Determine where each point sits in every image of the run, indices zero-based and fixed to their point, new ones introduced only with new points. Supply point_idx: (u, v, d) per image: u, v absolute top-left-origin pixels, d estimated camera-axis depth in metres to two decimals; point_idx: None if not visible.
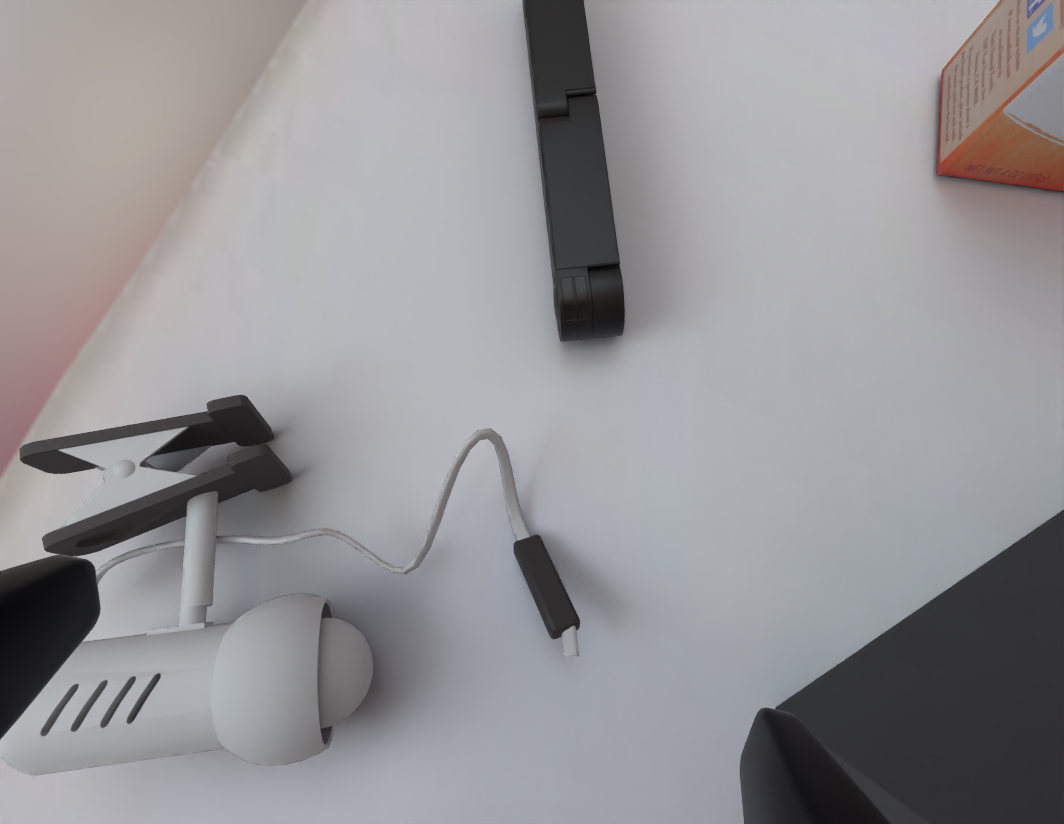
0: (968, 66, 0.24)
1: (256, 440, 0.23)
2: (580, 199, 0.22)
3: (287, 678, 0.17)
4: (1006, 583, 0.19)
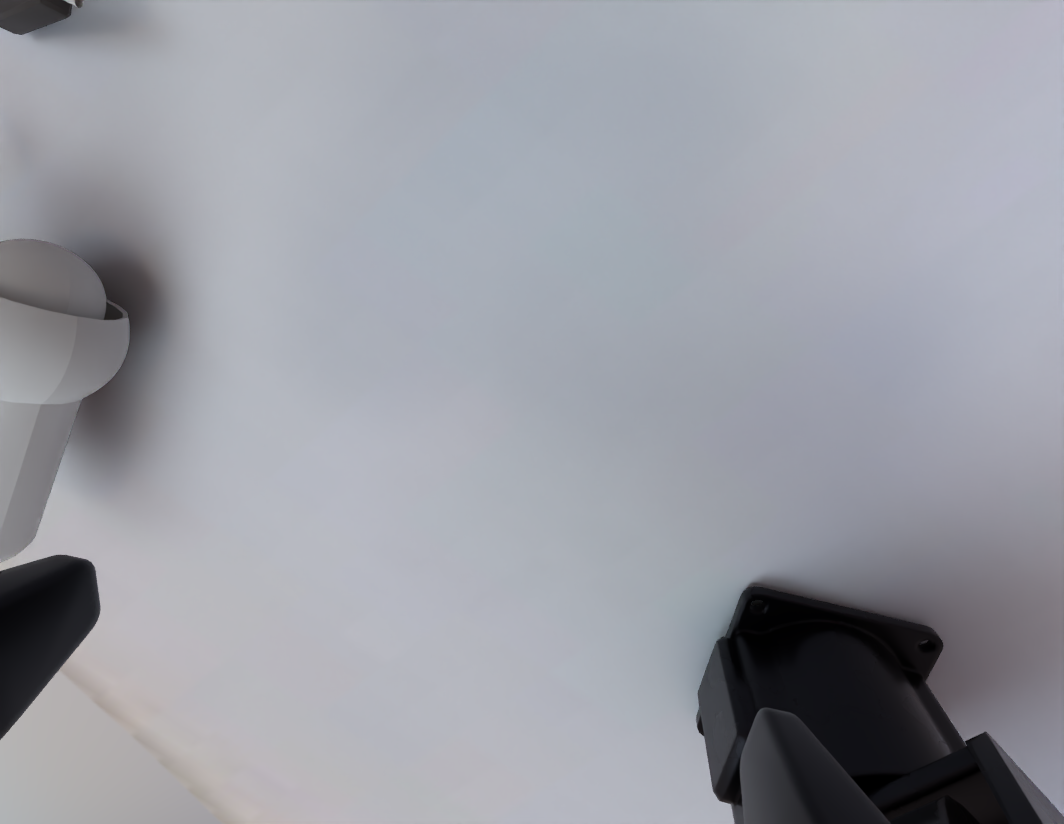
0: None
1: None
2: None
3: None
4: None
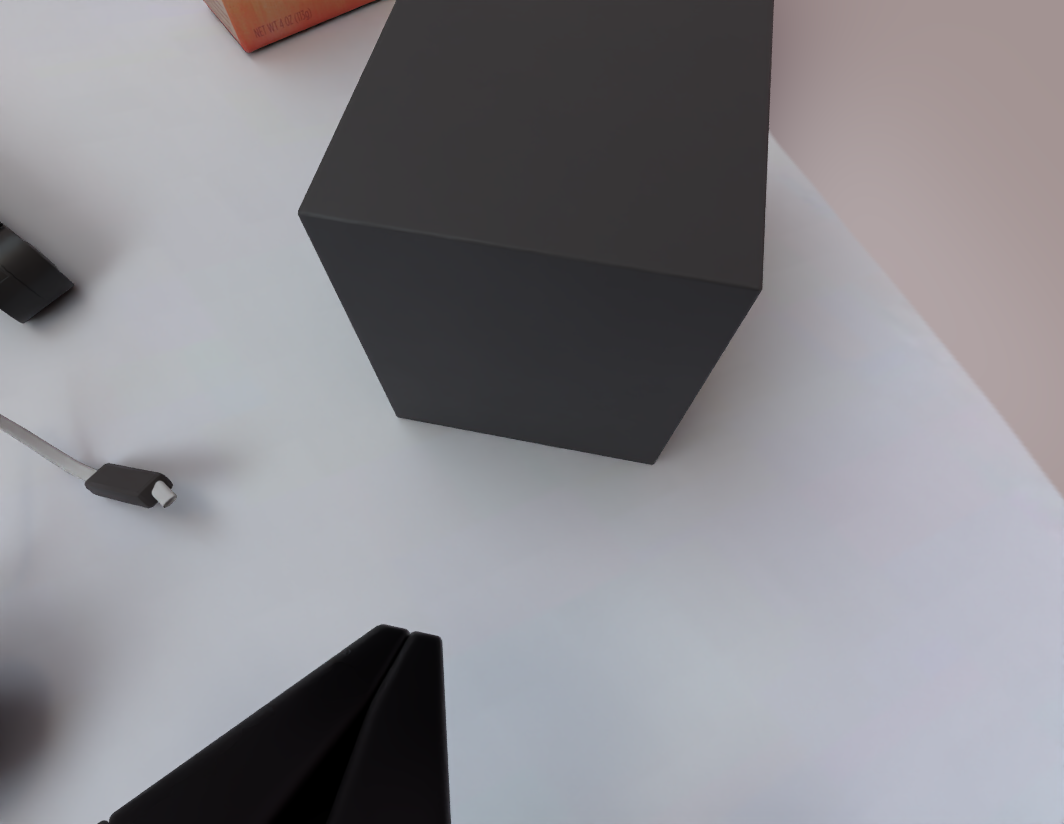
0: None
1: None
2: None
3: None
4: None
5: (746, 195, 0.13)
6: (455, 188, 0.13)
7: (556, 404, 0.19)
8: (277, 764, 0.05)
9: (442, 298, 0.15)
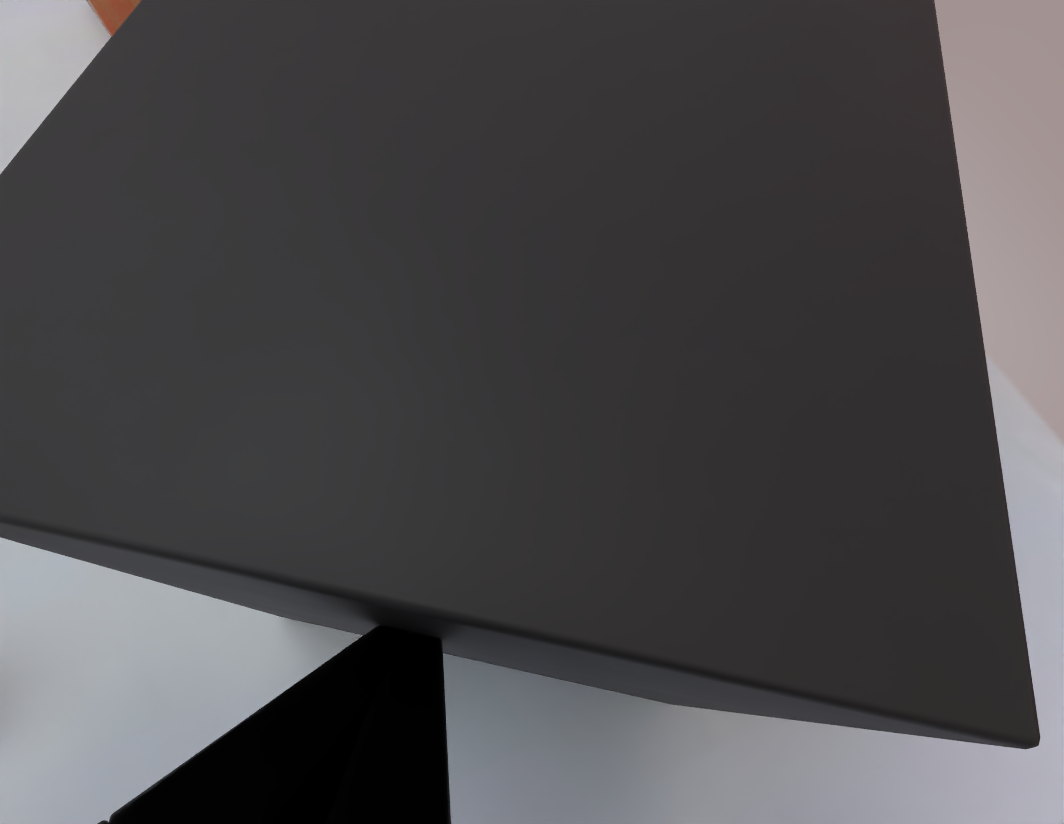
0: None
1: None
2: None
3: None
4: None
5: (945, 413, 0.05)
6: (198, 391, 0.05)
7: (510, 663, 0.11)
8: (277, 764, 0.05)
9: (228, 587, 0.07)
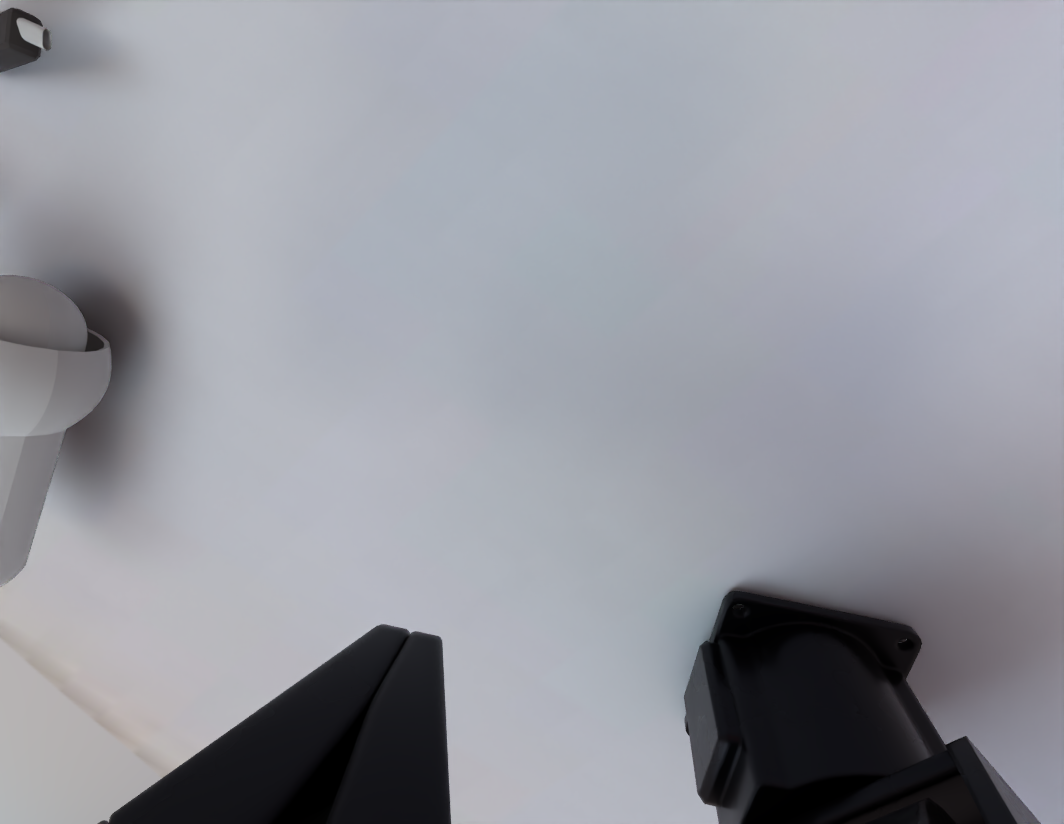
0: None
1: None
2: None
3: None
4: None
5: None
6: None
7: None
8: (277, 763, 0.05)
9: None
